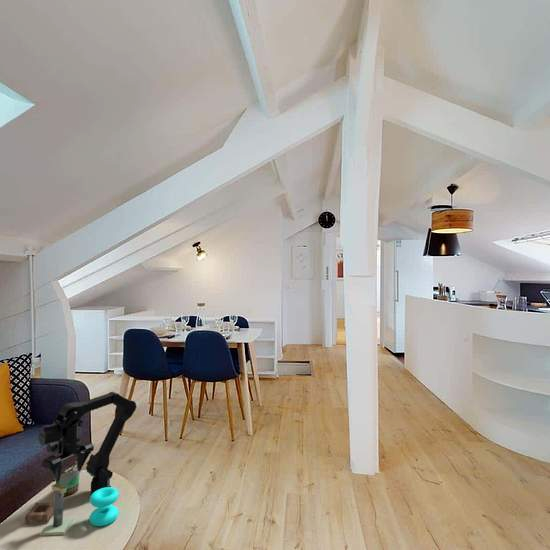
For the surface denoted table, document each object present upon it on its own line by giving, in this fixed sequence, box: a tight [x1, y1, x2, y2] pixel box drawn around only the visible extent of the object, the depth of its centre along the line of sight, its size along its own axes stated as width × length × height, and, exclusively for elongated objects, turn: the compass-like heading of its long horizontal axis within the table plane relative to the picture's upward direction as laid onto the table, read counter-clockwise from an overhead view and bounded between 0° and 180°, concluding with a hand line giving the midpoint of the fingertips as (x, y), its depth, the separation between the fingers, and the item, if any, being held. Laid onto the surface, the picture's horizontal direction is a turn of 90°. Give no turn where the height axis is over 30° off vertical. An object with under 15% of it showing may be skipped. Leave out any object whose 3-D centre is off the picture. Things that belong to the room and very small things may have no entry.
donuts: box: [89, 486, 120, 527], centre depth 145 cm, size 10×10×10 cm
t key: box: [51, 483, 67, 527], centre depth 140 cm, size 6×3×14 cm, turn 64°
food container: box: [54, 461, 82, 499], centre depth 162 cm, size 12×6×10 cm, turn 168°
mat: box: [39, 517, 75, 537], centre depth 140 cm, size 8×8×1 cm
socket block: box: [24, 501, 54, 525], centre depth 146 cm, size 8×8×3 cm
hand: (68, 476), depth 153 cm, fingers open, 9 cm apart
